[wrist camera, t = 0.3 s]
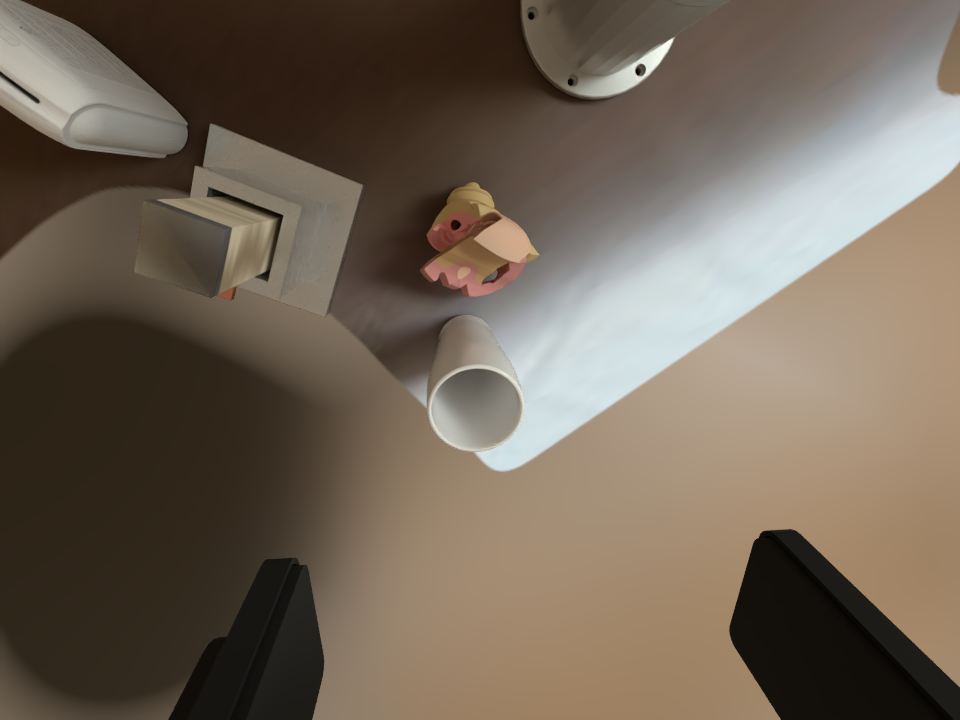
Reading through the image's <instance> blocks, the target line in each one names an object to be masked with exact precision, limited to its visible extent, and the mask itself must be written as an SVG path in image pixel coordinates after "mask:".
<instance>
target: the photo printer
mask: <svg viewBox="0 0 960 720" xmlns="http://www.w3.org/2000/svg"><path fill="white" fill-rule="evenodd" d="M0 105H1V106H2V107H4V108H5V109H7V110H8V111H9V112H11V113H12V114H14V115H15V116H16V117H18V118H19V119H21V120H22V121H24V122H26V123H27V124H29V125H30V126H32V127H33V128H35V129H36V130H38V131H40V132H41V133H43V134H45V135H47V136H48V137H50V138H52V139H54V140H56V141H58V142H60V143H62V144H64V145H66V146H68V147H71V148H75V149H82V150H90V151H99V152H107V153H116V154H125V155H134V156H143V157H153V158H165V157H166V155H168V154H174V153H177V152H179V151H180V150H181V149H182V148H183V147H184V145H185V144H186V141H187V137H188V130H187V128H186V126H187V125H188V124H187V122H186V121H185V119H184V118H183V117H182V116H181V115H180V114H179V112H178V111H177V110H176V109H175V108H174V107H173V106H172V105H170V104H169V103H168V102H167V101H166V100H165V99H164V98H163V97H162V96H161V95H160V94H158V93H157V92H156V91H155V90H154V89H153V88H152V87H151V86H150V85H148V84H147V83H146V82H145V81H144V80H143V79H142V78H140V77H139V76H138V75H137V74H136V73H135V72H134V71H133V70H131V69H130V68H129V67H128V66H127V65H126V64H124V63H123V62H122V61H121V60H120V59H119V58H117V57H116V56H115V55H114V54H113V53H112V52H111V51H109V50H108V49H107V48H106V47H105V46H103V45H102V44H101V43H100V42H98V41H97V40H96V39H95V38H93V37H92V36H91V35H89V34H88V33H87V32H85V31H84V30H82V29H81V28H79V27H77V26H76V25H74V24H72V23H71V22H69V21H66V20H64V19H62V18H60V17H57V16H55V15H53V14H50V13H48V12H46V11H44V10H41V9H39V8H37V7H34V6H32V5H30V4H28V3H25V2H23V1H21V0H0Z"/></svg>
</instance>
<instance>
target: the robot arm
mask: <svg viewBox="0 0 960 720" xmlns="http://www.w3.org/2000/svg"><path fill="white" fill-rule="evenodd" d="M729 1H731V0H520V19H521V26H522V33H523V37H524V40H525V43H526V47H527V50H528V52H529V54H530V56H531V58H532V60H533V62H534V64H535V66H536V67H537V68H538V69H539V71H540V72H541V73H542V75H543V76H544V77H545V78H546V79H547V80H548V81H549V82H550V83H551V84H552V85H554V86H555V87H556V88H557V89H559V90H561V91H563V92H564V93H566V94H568V95H571V96H574V97H577V98H581V99H589V100H600V99H607V98H612V97H614V96H617V95H620V94H622V93H625V92H627V91H628V90H630V89H632V88H634V87H636V86H637V85H638V84H640V83H641V82H643V81H644V80H645V79H646V78H648V77H649V76H650V74H651V73H652V72H653V71H654V70H655V69H656V68H657V67H658V66H659V65H660V63H661V62H662V60H663V59H664V57H665V56H666V54H667V53H668V51H669V50H670V48H671V45H672V43H673V41H674V39H675V37H676V36H677V35H678V34H680V33H681V32H683V31H684V30H686V29H687V28H689V27H691V26H692V25H694V24H695V23H697V22H698V21H700V20H701V19H703V18H704V17H706V16H707V15H709V14H711V13H712V12H714V11H715V10H717V9H718V8H720V7H721V6H723V5H724V4H726V3H728V2H729ZM528 14H532V15H533V17H534V19H533V20H530V19H529V18H528ZM635 69H637V70H638V71H639V75H638V76H637V75H636V73H635ZM569 79H570V80H572V82H573V84H572V86H569V85H568V80H569ZM729 630H730V636H731V640H732V642H733V644H734V647H735V648H736V650H737V651H738V653H739V654H740V656H741V658H742V659H743V661H744V662H745V664H746V665H747V667H748V669H749V670H750V672H751V673H752V675H753V676H754V678H755V680H756V681H757V683H758V684H759V686H760V687H761V689H762V691H763V692H764V693H765V695H766V697H767V698H768V700H769V702H770V703H771V705H772V706H773V708H774V709H775V711H776V713H777V714H778V716H779V717H780V719H781V720H960V687H959V686H958V685H956V683H954V682H953V681H952V680H951V679H950V678H949V677H948V676H947V675H946V674H945V673H944V672H943V671H942V670H941V669H940V668H939V667H938V666H937V665H936V664H935V663H934V662H933V661H932V660H930V658H928V656H926V655H925V654H924V653H923V652H922V651H921V650H920V649H919V648H918V647H917V646H916V645H915V644H914V643H913V642H912V641H911V640H910V639H909V638H908V637H907V636H906V635H905V634H904V633H903V632H902V631H900V630H899V629H898V628H897V627H896V626H895V625H894V624H893V623H892V622H891V621H890V620H889V619H888V618H887V617H886V616H885V615H884V614H883V613H882V612H881V611H880V610H879V609H878V608H877V607H876V606H875V605H874V604H872V603H871V602H870V601H869V600H868V599H867V598H866V597H865V596H864V595H863V594H862V593H861V592H860V591H859V590H858V589H857V588H856V587H855V586H854V585H853V584H852V583H851V582H850V581H848V579H846V578H845V577H844V576H843V575H842V574H841V573H840V572H839V571H838V570H837V569H836V568H835V567H834V566H833V565H832V564H831V563H830V562H829V561H828V560H827V559H826V558H825V557H824V556H823V555H822V554H821V553H819V552H818V551H817V550H816V549H815V548H814V547H813V546H812V545H811V544H810V543H809V542H808V541H807V540H806V539H805V538H804V537H803V536H802V535H801V534H799V533H798V532H797V531H795V530H791V529H788V530H771V531H763V532H762V533H761V534H760V536H759V538H758V539H756V540H755V541H754V543H753V546H752V550H751V553H750V557H749V560H748V564H747V567H746V571H745V574H744V578H743V582H742V585H741V588H740V592H739V596H738V599H737V602H736V606H735V610H734V613H733V616H732V620H731V623H730V629H729ZM323 670H324V655H323V649H322V644H321V638H320V633H319V627H318V621H317V616H316V611H315V605H314V599H313V593H312V588H311V582H310V576H309V571H308V567H307V565H299V562H298V560H297V558H284V559H268V560H265V561H264V562H263V564H262V565H261V567H260V569H259V571H258V573H257V575H256V578H255V580H254V582H253V584H252V586H251V588H250V590H249V592H248V594H247V596H246V598H245V600H244V602H243V604H242V607H241V609H240V611H239V613H238V615H237V617H236V619H235V621H234V623H233V626H232V628H231V629H230V632H229V634H228V636H227V637H219V638H216V639H214V640H213V641H212V642H211V643H209V644H208V646H207V648H206V649H205V651H204V652H203V654H202V656H201V658H200V659H199V662H198V663H197V665H196V667H195V669H194V671H193V673H192V675H191V677H190V679H189V681H188V683H187V685H186V687H185V688H184V691H183V693H182V694H181V696H180V698H179V700H178V702H177V704H176V706H175V708H174V710H173V712H172V714H171V716H170V717H169V720H312V718H313V714H314V710H315V706H316V702H317V697H318V694H319V689H320V685H321V681H322V677H323Z"/></svg>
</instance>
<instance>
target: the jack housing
mask: <svg viewBox="0 0 960 720" xmlns="http://www.w3.org/2000/svg"><path fill="white" fill-rule="evenodd" d="M365 187H366V185H364V184H362V183H359V182H357V181H354V180H352V179H349V178H347V177H344V176H342V175H339V174H337V173H334V172H332V171H330V170H327V169H325V168H322V167H320V166H317V165H315V164H312V163H310V162H307V161H305V160H302V159H300V158H298V157H295V156H293V155H290V154H288V153H285V152H283V151H280V150H278V149H275V148H273V147H270V146H268V145H266V144H263V143H261V142H258V141H256V140H253V139H251V138H248V137H246V136H243V135H241V134H239V133H236V132H234V131H231V130H229V129H226V128H224V127H221V126H218V125H215V124H211V123H210V128H209V134H208V140H207V146H206V151H205V157H204V163H203V166H195V170H194V176H193V182H192V188H191V194H190V198H202V197H225V196H234V197H237V198H240V199H242V200H245V201H248V202H250V203H253V204H255V205H258V206H261V207H263V208H266V209H269V210H271V211H274V212H277V213H279V214H282V215H284V216H283V220H282V224H281V229H280V233H279V237H278V241H277V246H276V250H275V254H274V258H273V263H272V267H271V269H270V270H268V271H266V272H264V273H262V274H260V275H257V276H255V277H253V278H251V279H249V280H247V281H245V282H243V283H241V284H239V285H236V286H234V287H232V288H230V289H228V290H226V291H224V292H222V293H220V294H218V295H217V296H219V297H222V298H225V299H228V300H233V299H234V296H235V292H236V287H238V288H240V289H244V290H247V291H249V292H252V293H255V294H258V295H261V296H264V297H267V298H270V299H273V300H276V301H279V302H282V303H285V304H288V305H291V306H294V307H297V308H299V309H302V310H305V311H308V312H311V313H315V314H317V315H320V316H323V317H326V316H327V315H328V314H329V312H330V308H331V305H332V301H333V298H334V294H335V291H336V287H337V284H338V280H339V277H340V274H341V270H342V267H343V263H344V260H345V256H346V253H347V249H348V246H349V242H350V239H351V235H352V232H353V229H354V225H355V222H356V218H357V215H358V211H359V208H360V204H361V201H362V197H363V194H364V190H365Z"/></svg>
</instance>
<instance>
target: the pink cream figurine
mask: <svg viewBox="0 0 960 720" xmlns="http://www.w3.org/2000/svg"><path fill="white" fill-rule="evenodd" d="M458 222H460V223H461V226H460V228H459V229H456V226H457V224H458ZM426 236H427V237H428V241H429V243H430V244H431V245H432V247H434V248H435V249H436V250H438V251H440V252H441V253H439V254H438V255H436V256H435V257H433V258H432V259H430V260H429V261H428V262H427V263H426V264H425V265H424V266H423V267H422V268H421V269H420V272H421V273H422V274H423V275H424V277H425V278H426V279H427V280H428V281H430V282H434V281H436V280H437V279H438V277H439V278H440V280H441V282H442V284H443V287H444V286H446V287H449V288H451V289H454V290H456V289H459V288H461V291H462V294H463V296H468V297H469V296H482V295H486V294H489V293H492V292H494V291H496V290H498V289H500V288H502V287H504V286H506V285H508V284H509V283H511V282H512V281H514V280H515V279H516V278H517V277H518V276H519V275H520V273H521V272H522V270H523V269H524V266H525V264H526V263H528V262H530V261H532V260H534V259H536V258H537V257H538V256H540V255H539V254H538V253H537V252H536V250H535V249H534V247H533V246H532V245H531V243H530V241H529V239H528V236H527V235H526V233H525V232H524V231H523V230H522V229H521V228H520V227H519V226H518V225H517V224H516V223H515V222H513V221H512V220H510V219H509V218H507V217H505V216H503V215H502V214H500V213H499V212H498V211H496V210H495V209H494V202H493V201H492V197H491V195H490V194H489V193H488V192H487V191H485V190H483V189H480V187H479V185H478V184H477V183H474V182H471V183H468V184H466V185H465V187H460V188H457V189H455V190H453V191H452V192H451V194H450V196H449V197H448V199H447V205H446V206H445V207H444V208H443V209H442V211H441V212H440V214H439V215H438V216H437V218H436V219H435V221H434V223H433V225H432V227H431V229H430V230H429V232H428V233H427V235H426ZM496 269H497V271H498V274H497V277H496V278H495V279H494V280H491V281H487V282H484V283H482V281H483V280H484V279H485V278H486V277H487V276H488V275H490V274H491V273H493V272H494V271H495V270H496Z"/></svg>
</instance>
